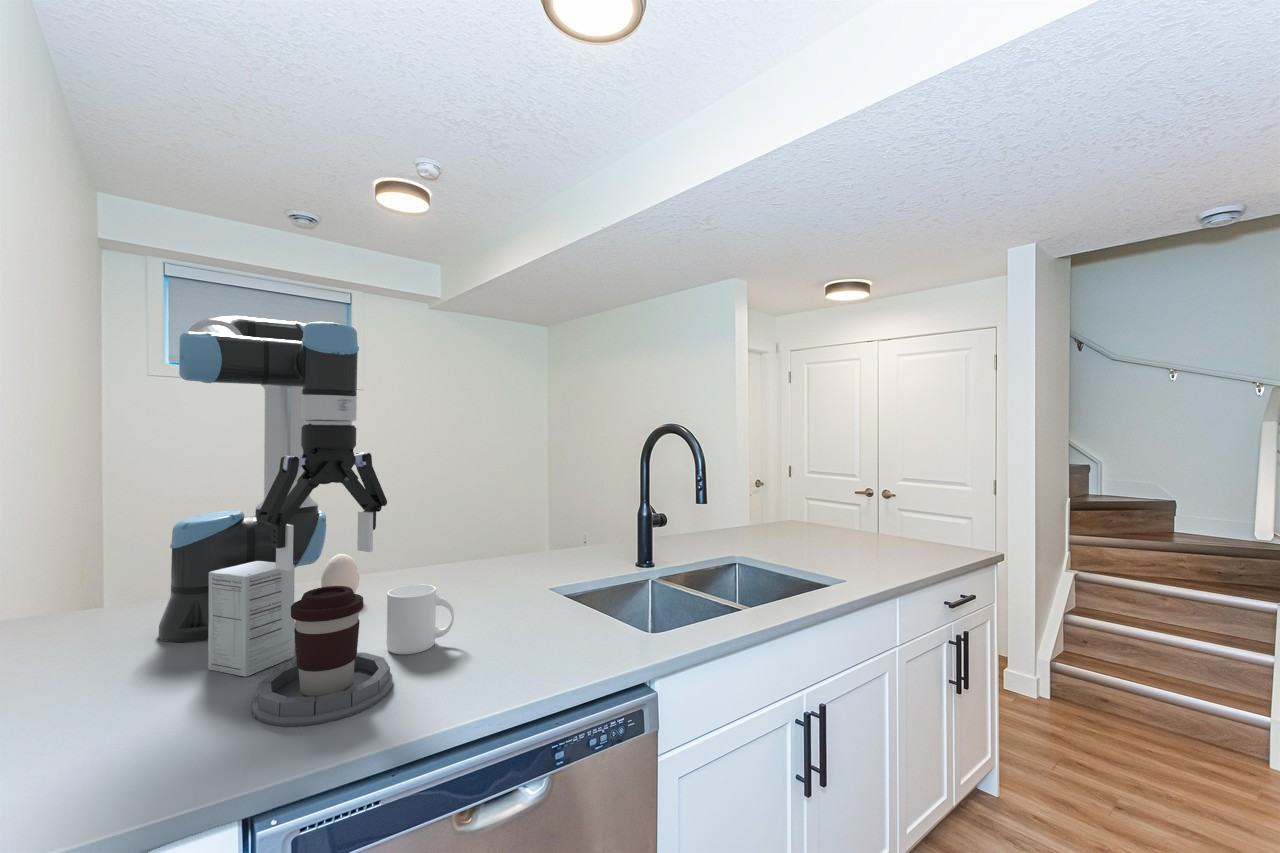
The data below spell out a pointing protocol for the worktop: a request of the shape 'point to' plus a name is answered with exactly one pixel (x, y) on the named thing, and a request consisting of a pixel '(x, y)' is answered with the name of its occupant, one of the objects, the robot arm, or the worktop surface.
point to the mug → (414, 618)
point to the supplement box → (250, 618)
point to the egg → (341, 572)
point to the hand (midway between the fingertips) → (327, 559)
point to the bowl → (292, 708)
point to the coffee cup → (326, 639)
